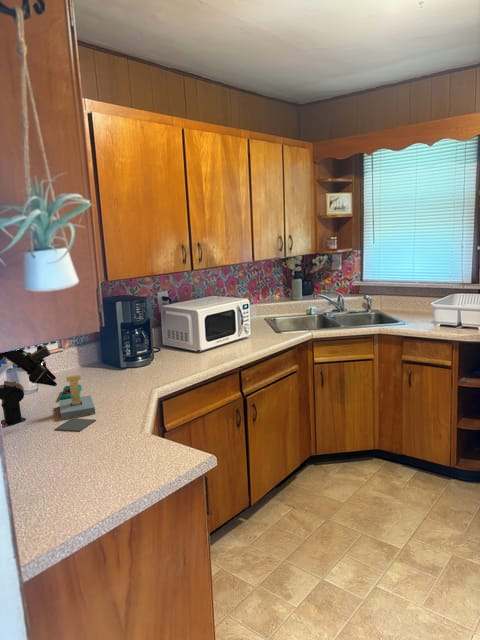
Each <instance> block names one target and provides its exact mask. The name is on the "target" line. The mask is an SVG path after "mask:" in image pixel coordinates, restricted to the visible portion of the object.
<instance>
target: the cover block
mask: <svg viewBox="0 0 480 640" xmlns="http://www.w3.org/2000/svg"><path fill="white" fill-rule="evenodd" d="M80 403H81V405H76V406H72V400H71V399H65V400H60V399H59V400H58V405H59V411H60V412H59V413H60V419H61V421H62V420H63V421H64V420H67V419H71V418H78V417H83V416H90V415H94V414H96V408H95V404H94V402H93V400H92V396H91V395H90V394H89V395H84V396H80Z"/></svg>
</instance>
